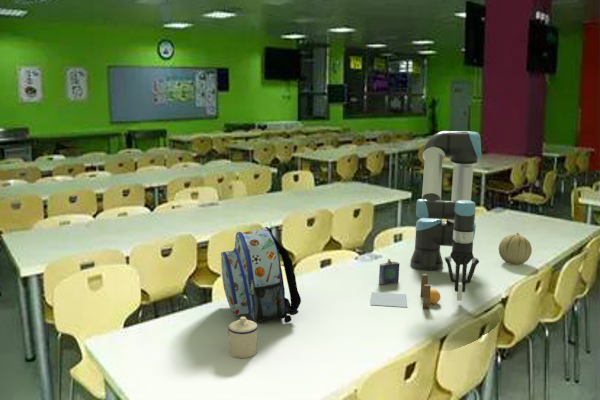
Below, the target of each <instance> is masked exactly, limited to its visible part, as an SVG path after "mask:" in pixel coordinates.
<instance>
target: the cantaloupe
mask: <svg viewBox="0 0 600 400" xmlns="http://www.w3.org/2000/svg"><path fill="white" fill-rule="evenodd" d="M498 254H499V257H501V259H502V260H503V262H505V263H506V264H509V265H511V266H519V265H523V264H524V263H526V262H528V260H529V259H530V257H531V255H532V244H531V242H530V241H529V239H527V238H526V237H524V236H522V235H520V233H519V232H516V234H509V235H506V236H505V237H503V239H501V241H500V243H499V246H498Z"/></svg>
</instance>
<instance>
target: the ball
mask: <svg viewBox="0 0 600 400" xmlns="http://www.w3.org/2000/svg"><path fill="white" fill-rule="evenodd" d="M440 300H441V293H440V292H439V291H438V290H437V289H433V288H432V289H431V288H430V304H434V305H435V304H437V303H439V302H440Z"/></svg>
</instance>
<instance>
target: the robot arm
mask: <svg viewBox="0 0 600 400" xmlns="http://www.w3.org/2000/svg"><path fill="white" fill-rule="evenodd" d="M481 144H482V141H481V136H480V134H479V132H477V131H469V130H460V131H459V130H455V131H454V130H442V131H438V132H436V133H435V134H433V135H432V136H431V137H430V138H429V139H428V140H427V141H426V142H425V144H424V145H423V149H422V159H423V161H424V162H423V163H424V164H423V178H422V193H421V198H418V199H417V200H416V205H415V206H416V207H415V215H416V217H417V218H419V219H418V220H417V221H416V225H415V229H414V230H415V240H414V251H413V253H412V255H411V259H410V263H409V264H410V267H412V268H414V269H416V270H417V269H418V270H422V271H437V270H442V269H443V267H444V261H445V263H446V264H447V269H448V274H449V275H448V276H449V279H450V283H453V284H454V292H456V301H460V302H461V301H462V300H463V299H462V298H463V293H465V292H466V285H467V284H471V281H472V279H473V276H474V273H475V270H476V267H477V265H478V264H479V263H480V260H479V258H476V257H475V256H474V253H473V247H474V240H475V236H476V235H475V234H476V228H477V224H476V222H475V221H476V219H475V217H476V211H477V210H476V202H475V201H474V200H473V201H472V192H473V191H472V190H473V178H474V176H473V175H474V166H475V165H477V163H478V160H480V159H481V158H482V145H481ZM445 158H450V159H449V160H450V163H451V164H452V165H453V168H452V169H453V170H452V182H451V183H452V185H451V200H443V199H441V198H442V180H443V179H442V178H443V176H442V175H443V161H444V160H445ZM441 247H451V248H452V249H451V252H450V255H448V256H445V257H444V261H443V256H442V254H441ZM452 260H453V261H454V263H455V269H454V270H455V272H454V273H455V275H454V273H453V269H452V263H451V262H452ZM470 263H471V264H470ZM468 264H470V269H469V271H468V275H467V268H468ZM461 266H462V271H461V269H460V268H461ZM460 271H461V272H462V273H461V281H460Z"/></svg>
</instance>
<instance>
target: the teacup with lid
mask: <svg viewBox="0 0 600 400" xmlns="http://www.w3.org/2000/svg"><path fill="white" fill-rule="evenodd" d="M227 335H228V337H229V339H228V340H229V354H230V355H231V356H232V357H233V358H236V359H247V358H251V357H254V356H255V355H256V354H257V352H258V323H256V322H255V320H254V321H253V320H250V319H247V317H246V316H240V317H239V319H237V320H234V321H232V322H231V323H230V324H229V325H228V327H227Z"/></svg>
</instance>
